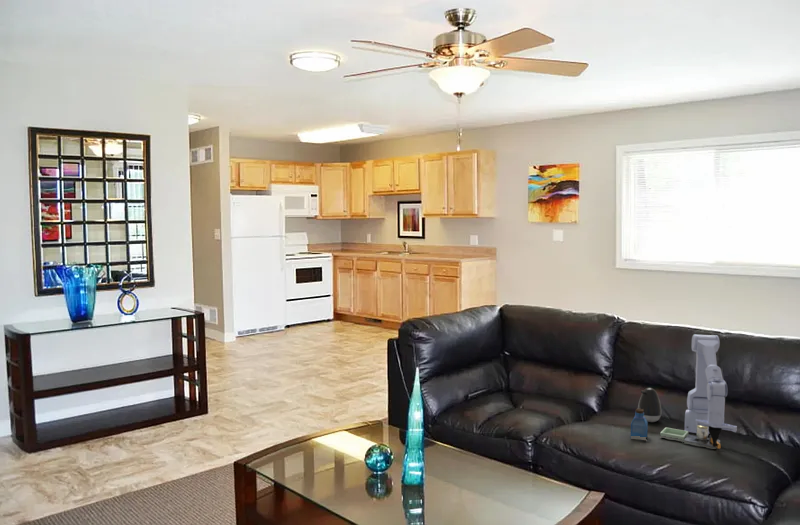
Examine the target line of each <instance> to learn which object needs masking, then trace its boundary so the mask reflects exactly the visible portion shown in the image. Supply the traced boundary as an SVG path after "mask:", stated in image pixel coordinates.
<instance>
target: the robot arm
mask: <svg viewBox="0 0 800 525" xmlns="http://www.w3.org/2000/svg"><path fill="white" fill-rule="evenodd" d="M720 345H721V342H720V336H719V335H717V334H715V335H714V334H711V335H710V334H696V333H693V335H692V336H691V351H692V352H694V353H695V354H696V358H695V359H696V360H695V387H694V388H692V389H691V390H689V391H688V393H687V397H686V407H687V409H685V413H684V431H689V433H692V434H697V425H701V426H706V427H708V435H709V434H710V435H711V437H712V440H713V447H716V444H717V440H719V439H718V438H719V436H720V434H721V432H722V430H724V431H730V432H733V433H737V429H738V426H737V425H733V424H729V423H725V411H726V410H725V406H726V405H725V404H726V397H727V396H728V384H727V381H725V380H724V377H723V373H722V369H721V367H720V366H718V362H717V355H716V354H717V353H718V351H719V349H720ZM710 435H709V436H710Z"/></svg>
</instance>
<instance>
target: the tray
mask: <svg viewBox="0 0 800 525" xmlns="http://www.w3.org/2000/svg"><path fill="white" fill-rule="evenodd" d="M689 433H690V432H689V431H684V430H683V429H679V428H677V429H676V428H671V427H667V426H666V427H664V428H663V429H662V430H661V431H660V433H659V436H660V435H661V436H666V437H672V438H678V439H682V440H684V439H685V438H686V437H687V436H688V435H690V434H689Z"/></svg>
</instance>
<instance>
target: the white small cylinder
mask: <svg viewBox="0 0 800 525" xmlns="http://www.w3.org/2000/svg"><path fill="white" fill-rule="evenodd" d="M696 436H697V441H699V442H704V443H707V438H709V437H708V436H709V434H708V427H706V426H701V425H697V433H696Z"/></svg>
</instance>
